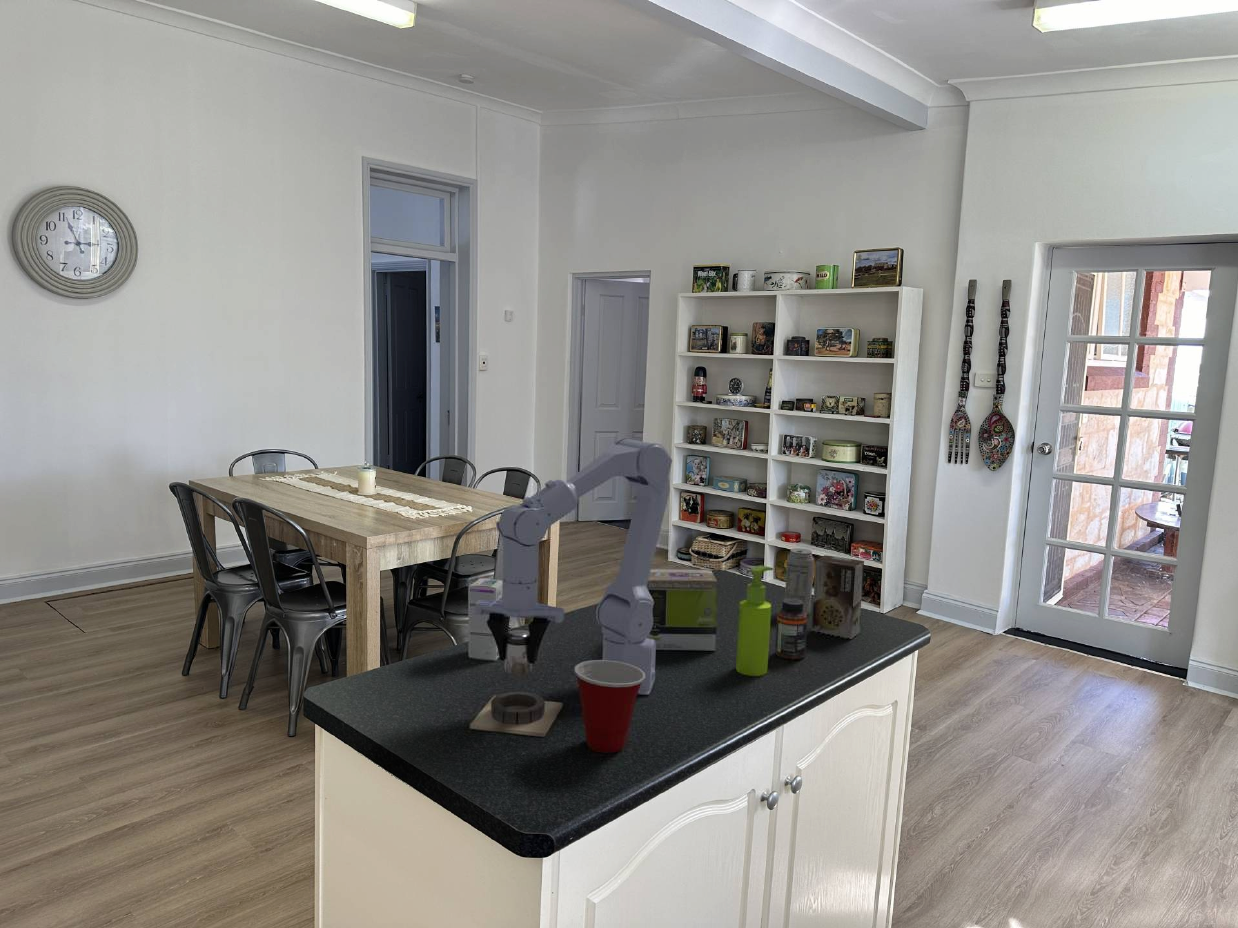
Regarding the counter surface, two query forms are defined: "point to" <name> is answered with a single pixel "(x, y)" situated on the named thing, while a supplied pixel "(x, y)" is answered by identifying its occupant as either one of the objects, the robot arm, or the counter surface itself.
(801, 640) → the supplement bottle
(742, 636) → the soap dispenser
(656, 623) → the tea box
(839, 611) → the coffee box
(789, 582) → the energy drink can
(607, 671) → the plastic cup
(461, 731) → the counter surface
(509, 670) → the silver capped cylinder
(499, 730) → the mount plate
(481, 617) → the syrup box
